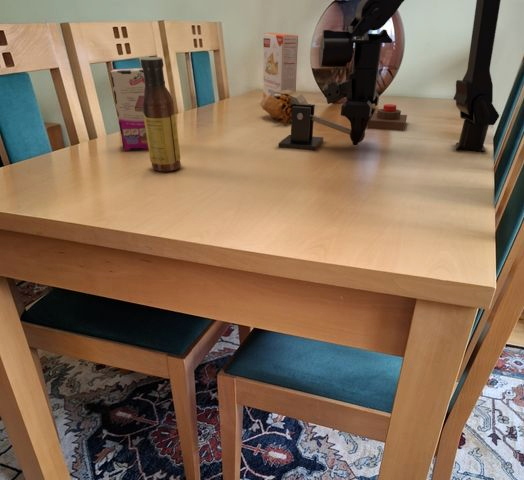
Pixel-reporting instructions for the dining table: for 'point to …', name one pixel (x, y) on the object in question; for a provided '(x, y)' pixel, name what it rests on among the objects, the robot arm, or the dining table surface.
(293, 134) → the bracket
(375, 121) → the button block
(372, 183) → the dining table surface
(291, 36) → the cracker box
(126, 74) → the candy bar box
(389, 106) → the button
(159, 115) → the sauce bottle
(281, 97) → the nautilus
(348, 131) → the lever
